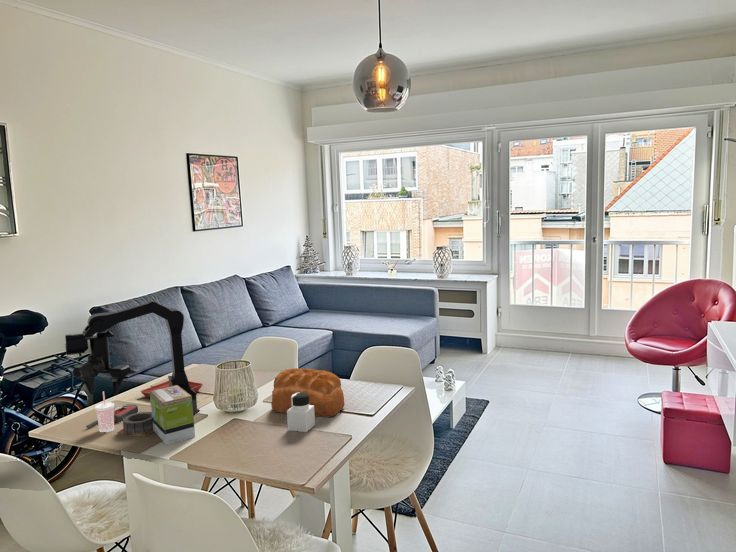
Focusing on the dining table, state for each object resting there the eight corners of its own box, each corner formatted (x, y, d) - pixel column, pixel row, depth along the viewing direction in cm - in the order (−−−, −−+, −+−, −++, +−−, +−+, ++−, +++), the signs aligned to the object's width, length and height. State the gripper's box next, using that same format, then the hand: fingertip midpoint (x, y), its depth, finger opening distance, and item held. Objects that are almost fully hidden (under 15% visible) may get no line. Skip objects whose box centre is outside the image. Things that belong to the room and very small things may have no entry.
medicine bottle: (315, 425, 196) (313, 391, 195) (306, 432, 190) (304, 398, 188) (296, 423, 199) (295, 389, 197) (287, 430, 192) (285, 396, 190)
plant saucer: (170, 404, 223) (169, 396, 223) (139, 398, 232) (139, 390, 232) (204, 391, 239) (204, 383, 238) (174, 385, 248) (174, 378, 247)
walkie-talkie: (121, 410, 218) (84, 430, 199) (120, 399, 218) (83, 418, 199) (141, 411, 216) (105, 432, 197) (140, 400, 216) (104, 420, 197)
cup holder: (162, 424, 201) (161, 412, 201) (145, 436, 191) (144, 423, 190) (135, 423, 203) (134, 411, 203) (117, 435, 193) (116, 422, 192)
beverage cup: (94, 430, 197) (90, 392, 196) (111, 425, 202) (107, 387, 200) (102, 435, 194) (98, 395, 192) (119, 429, 198) (116, 390, 197)
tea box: (152, 431, 195) (148, 390, 193) (181, 424, 201) (178, 384, 199) (165, 445, 183) (162, 401, 181) (196, 437, 189) (193, 394, 187)
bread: (332, 419, 201) (330, 377, 199) (267, 412, 210) (265, 372, 208) (347, 406, 214) (346, 366, 212) (285, 400, 223) (283, 362, 221)
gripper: (59, 356, 188) (63, 401, 190) (109, 357, 185) (113, 403, 187) (81, 348, 199) (85, 391, 201) (129, 348, 196) (133, 392, 198)
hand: (103, 394), depth 196 cm, fingers open, 9 cm apart
